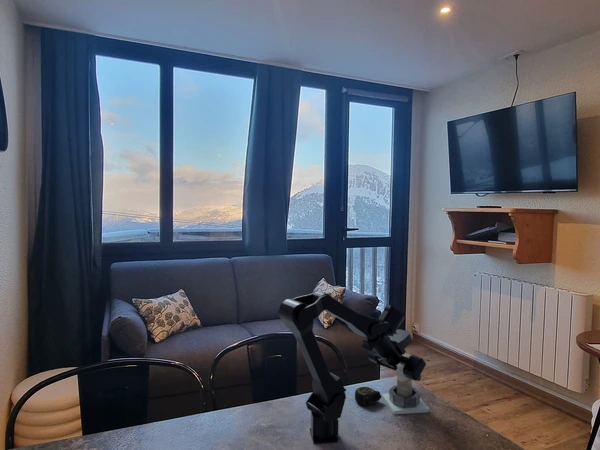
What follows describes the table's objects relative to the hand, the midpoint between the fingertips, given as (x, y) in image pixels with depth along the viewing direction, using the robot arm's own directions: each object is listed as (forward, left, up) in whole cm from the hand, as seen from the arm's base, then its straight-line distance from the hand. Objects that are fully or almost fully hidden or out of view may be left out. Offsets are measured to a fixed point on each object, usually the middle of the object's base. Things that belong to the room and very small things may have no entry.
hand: (407, 374), depth 125 cm
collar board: (-1, -1, -9) cm, 9 cm away
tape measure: (-12, +2, -9) cm, 15 cm away
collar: (-1, -1, -9) cm, 9 cm away
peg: (-1, -1, -8) cm, 8 cm away
